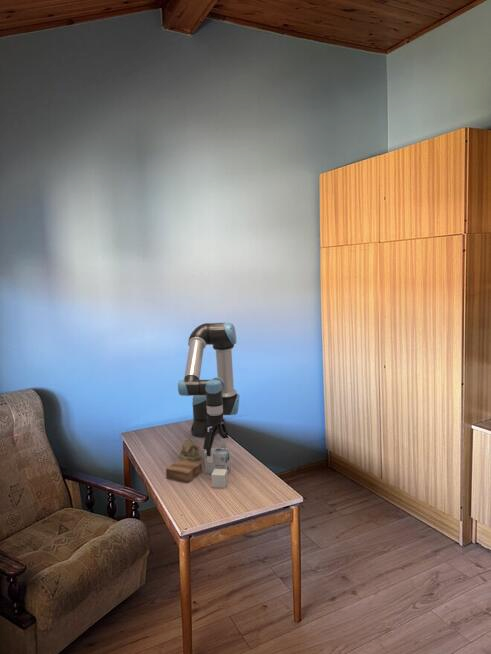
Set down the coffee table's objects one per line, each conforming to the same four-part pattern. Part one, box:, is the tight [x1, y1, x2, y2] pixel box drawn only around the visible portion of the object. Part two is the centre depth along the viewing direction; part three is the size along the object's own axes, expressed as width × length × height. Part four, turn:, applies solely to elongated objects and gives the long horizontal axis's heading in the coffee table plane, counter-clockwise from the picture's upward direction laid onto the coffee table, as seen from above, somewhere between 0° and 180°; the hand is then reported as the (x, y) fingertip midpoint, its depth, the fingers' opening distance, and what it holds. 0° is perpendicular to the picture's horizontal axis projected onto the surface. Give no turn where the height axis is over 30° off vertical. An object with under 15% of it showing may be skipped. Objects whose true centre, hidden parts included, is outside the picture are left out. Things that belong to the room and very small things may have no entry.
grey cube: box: [210, 469, 229, 489], centre depth 225 cm, size 6×6×6 cm
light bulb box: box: [203, 447, 231, 474], centre depth 237 cm, size 11×7×11 cm, turn 74°
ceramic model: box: [179, 437, 202, 462], centre depth 255 cm, size 14×11×10 cm
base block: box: [165, 458, 203, 484], centre depth 235 cm, size 12×12×5 cm
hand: (217, 456), depth 236 cm, fingers open, 13 cm apart
